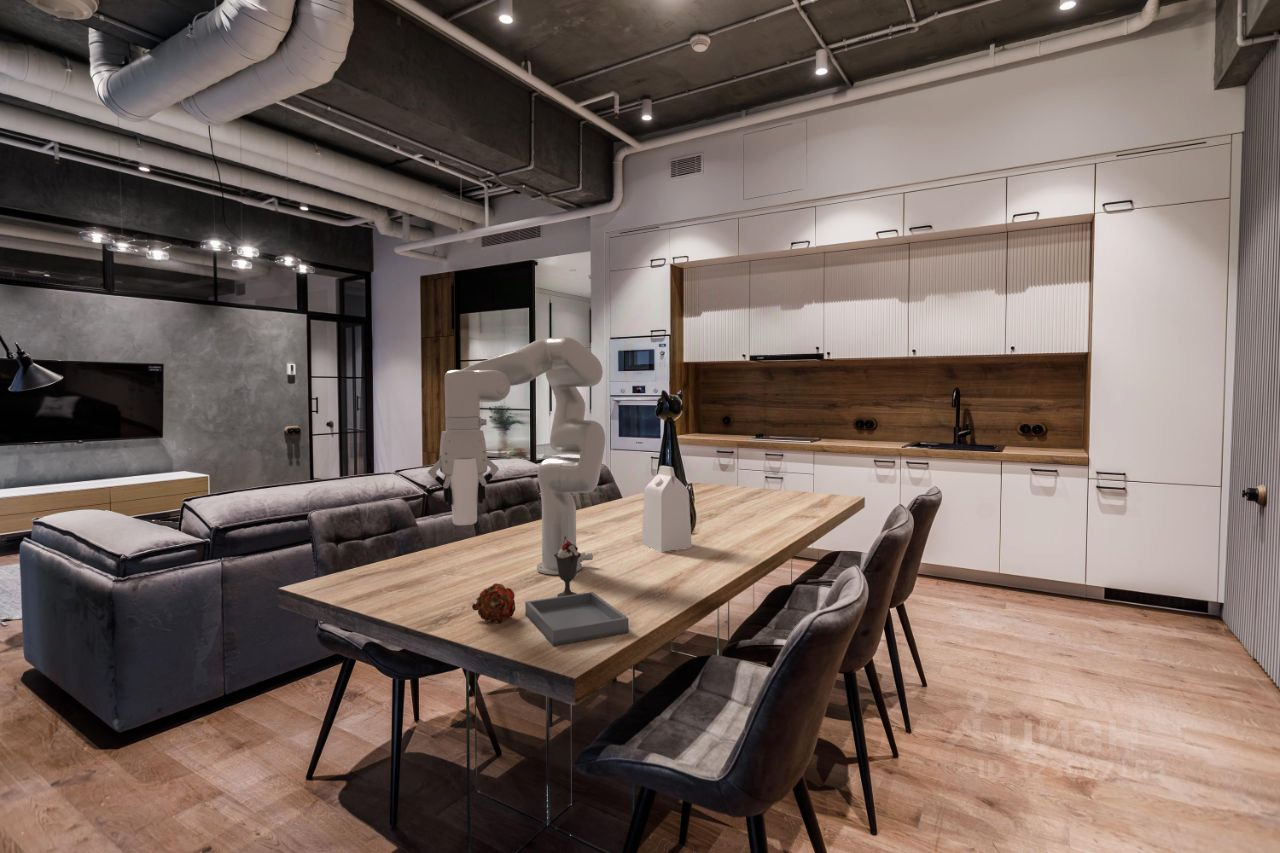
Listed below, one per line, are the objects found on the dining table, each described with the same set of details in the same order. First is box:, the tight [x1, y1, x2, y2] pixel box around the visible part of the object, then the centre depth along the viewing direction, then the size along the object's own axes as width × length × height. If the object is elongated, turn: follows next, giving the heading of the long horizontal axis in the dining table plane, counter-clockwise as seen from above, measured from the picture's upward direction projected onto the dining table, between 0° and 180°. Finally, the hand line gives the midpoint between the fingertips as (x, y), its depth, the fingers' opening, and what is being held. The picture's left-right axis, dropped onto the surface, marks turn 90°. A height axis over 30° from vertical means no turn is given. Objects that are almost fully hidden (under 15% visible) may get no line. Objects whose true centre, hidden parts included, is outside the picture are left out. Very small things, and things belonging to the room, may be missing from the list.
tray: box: [524, 591, 630, 647], centre depth 136 cm, size 16×20×3 cm
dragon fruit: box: [471, 582, 516, 624], centre depth 139 cm, size 8×8×12 cm
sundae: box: [553, 537, 582, 597], centre depth 155 cm, size 7×7×15 cm
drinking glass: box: [450, 458, 479, 526], centre depth 145 cm, size 7×7×15 cm
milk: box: [641, 465, 693, 553], centre depth 207 cm, size 12×12×26 cm
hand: (464, 503), depth 145 cm, fingers closed on drinking glass, 6 cm apart
